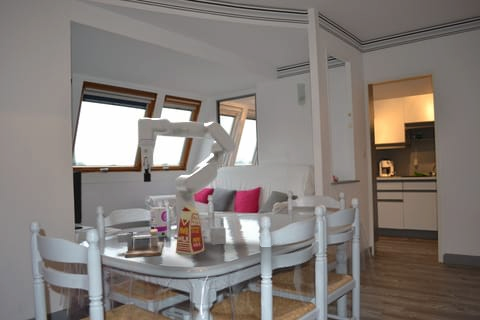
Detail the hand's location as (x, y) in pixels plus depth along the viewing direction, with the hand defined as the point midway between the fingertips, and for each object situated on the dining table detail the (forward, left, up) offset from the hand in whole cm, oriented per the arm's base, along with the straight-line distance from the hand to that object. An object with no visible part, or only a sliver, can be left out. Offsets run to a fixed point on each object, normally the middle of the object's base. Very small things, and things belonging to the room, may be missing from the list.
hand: (147, 181), depth 181 cm
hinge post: (+6, +19, -28) cm, 34 cm away
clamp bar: (+3, +19, -25) cm, 31 cm away
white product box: (-4, -16, -29) cm, 34 cm away
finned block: (+1, +19, -28) cm, 34 cm away
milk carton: (-19, +27, -29) cm, 44 cm away
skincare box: (-32, +13, -29) cm, 45 cm away
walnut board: (0, +19, -29) cm, 35 cm away
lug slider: (-4, +18, -28) cm, 33 cm away
